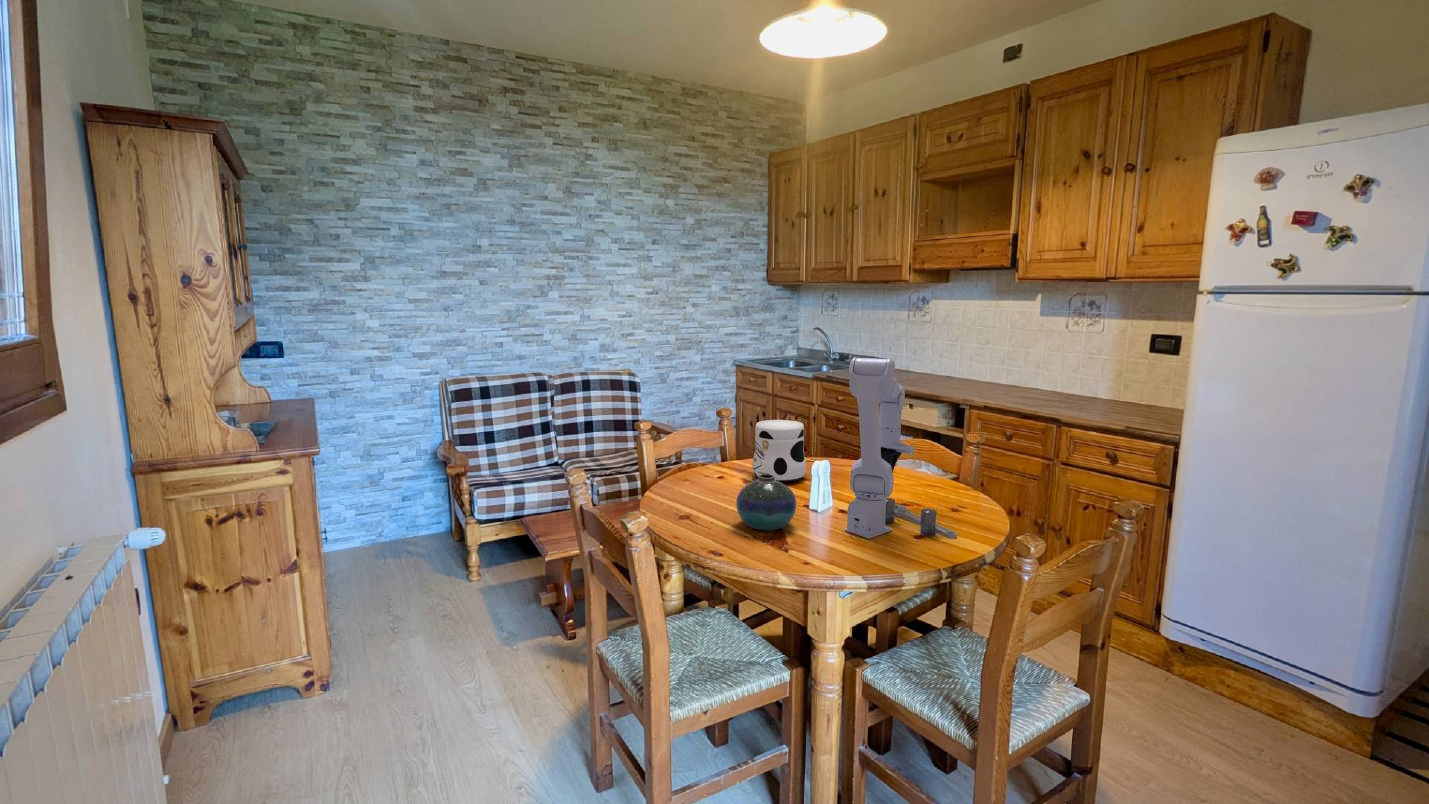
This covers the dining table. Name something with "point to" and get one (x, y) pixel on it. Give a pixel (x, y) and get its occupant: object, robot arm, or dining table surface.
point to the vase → (766, 504)
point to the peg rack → (926, 518)
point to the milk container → (779, 450)
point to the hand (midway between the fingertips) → (888, 475)
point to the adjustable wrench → (905, 513)
